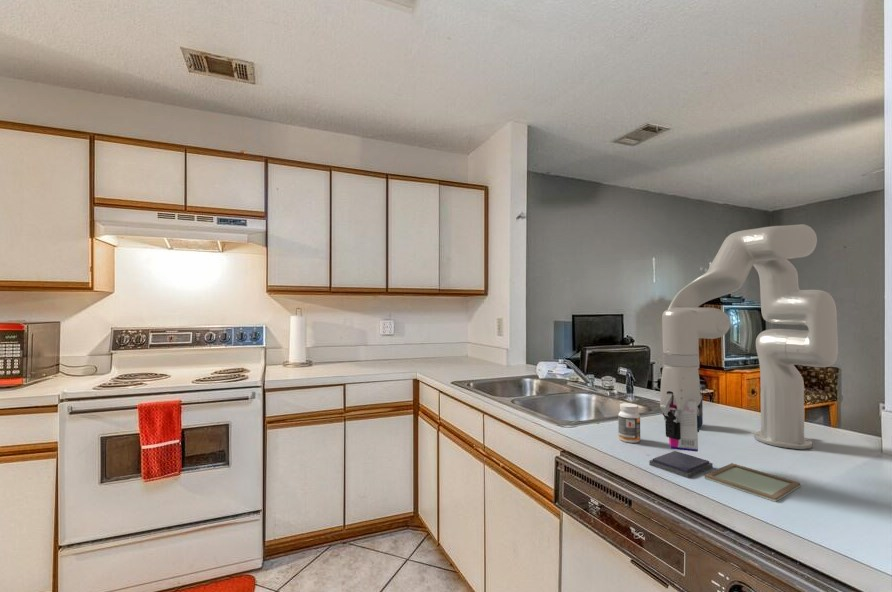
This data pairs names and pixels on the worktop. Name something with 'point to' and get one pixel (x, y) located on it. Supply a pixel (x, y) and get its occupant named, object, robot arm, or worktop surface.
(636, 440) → the pill bottle
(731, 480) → the brown picture frame
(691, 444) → the supplement box
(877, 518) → the worktop surface
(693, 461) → the pad
